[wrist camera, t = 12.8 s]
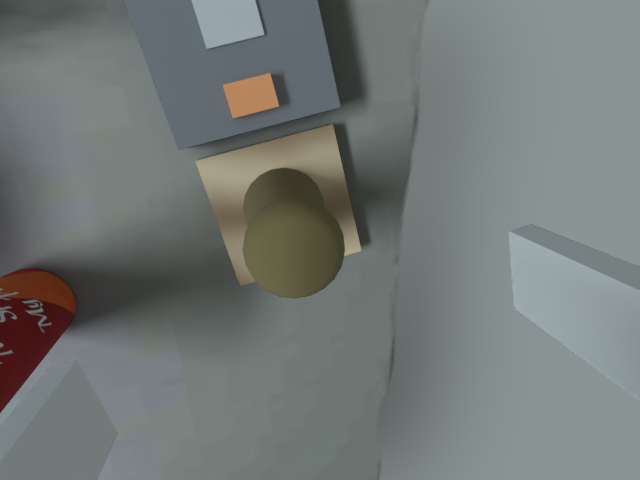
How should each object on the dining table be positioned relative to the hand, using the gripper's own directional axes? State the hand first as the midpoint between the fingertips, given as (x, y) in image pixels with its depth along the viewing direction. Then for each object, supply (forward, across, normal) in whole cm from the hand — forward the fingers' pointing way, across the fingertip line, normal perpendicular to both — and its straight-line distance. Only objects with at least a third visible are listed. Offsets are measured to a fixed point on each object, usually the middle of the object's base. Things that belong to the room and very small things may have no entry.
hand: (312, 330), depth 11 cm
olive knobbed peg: (+18, 0, 0) cm, 18 cm away
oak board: (+19, 0, 0) cm, 19 cm away
